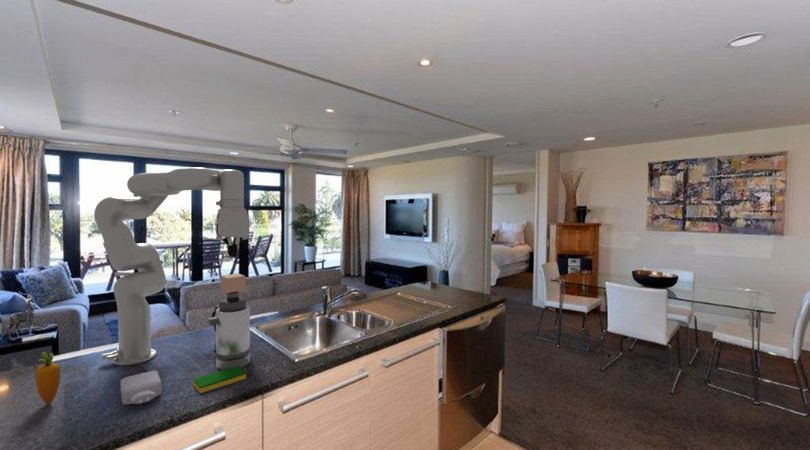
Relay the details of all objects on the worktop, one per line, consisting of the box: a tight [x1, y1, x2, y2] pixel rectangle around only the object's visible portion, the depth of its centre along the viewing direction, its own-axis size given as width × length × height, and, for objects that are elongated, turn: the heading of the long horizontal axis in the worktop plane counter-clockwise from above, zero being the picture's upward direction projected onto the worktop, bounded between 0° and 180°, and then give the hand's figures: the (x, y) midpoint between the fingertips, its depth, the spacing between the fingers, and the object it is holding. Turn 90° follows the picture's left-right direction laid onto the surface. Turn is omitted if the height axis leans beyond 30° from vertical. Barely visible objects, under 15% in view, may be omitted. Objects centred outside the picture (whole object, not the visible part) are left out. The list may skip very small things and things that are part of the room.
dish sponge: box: [193, 366, 247, 394], centre depth 114 cm, size 7×14×2 cm, turn 135°
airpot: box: [207, 291, 251, 371], centre depth 126 cm, size 14×11×27 cm
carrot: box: [34, 351, 61, 405], centre depth 100 cm, size 5×5×15 cm
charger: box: [120, 370, 162, 406], centre depth 104 cm, size 5×9×15 cm
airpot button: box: [219, 273, 246, 294], centre depth 126 cm, size 6×6×5 cm
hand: (232, 256), depth 126 cm, fingers closed
